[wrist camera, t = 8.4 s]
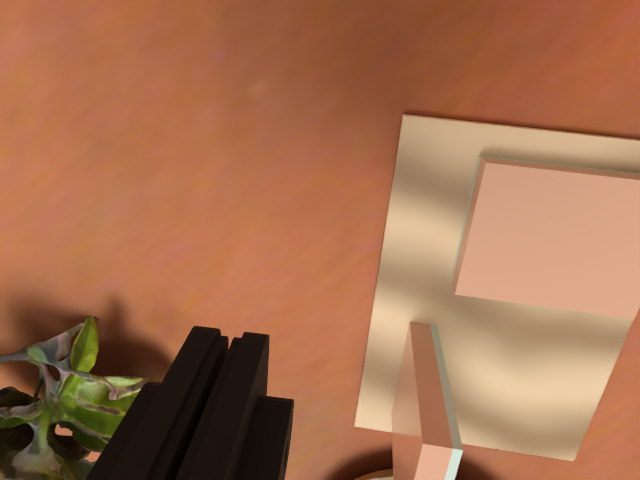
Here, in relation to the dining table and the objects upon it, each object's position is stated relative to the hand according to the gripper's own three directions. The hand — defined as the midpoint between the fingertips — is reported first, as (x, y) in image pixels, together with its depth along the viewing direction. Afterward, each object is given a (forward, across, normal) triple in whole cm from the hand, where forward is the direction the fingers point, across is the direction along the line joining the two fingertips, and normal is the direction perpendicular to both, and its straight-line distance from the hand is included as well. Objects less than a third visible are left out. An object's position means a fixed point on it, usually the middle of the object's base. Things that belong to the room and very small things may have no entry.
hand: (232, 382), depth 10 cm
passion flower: (+16, +14, +15) cm, 26 cm away
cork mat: (+15, -12, +6) cm, 20 cm away
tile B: (+15, -8, +11) cm, 20 cm away
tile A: (+14, -8, +1) cm, 16 cm away
